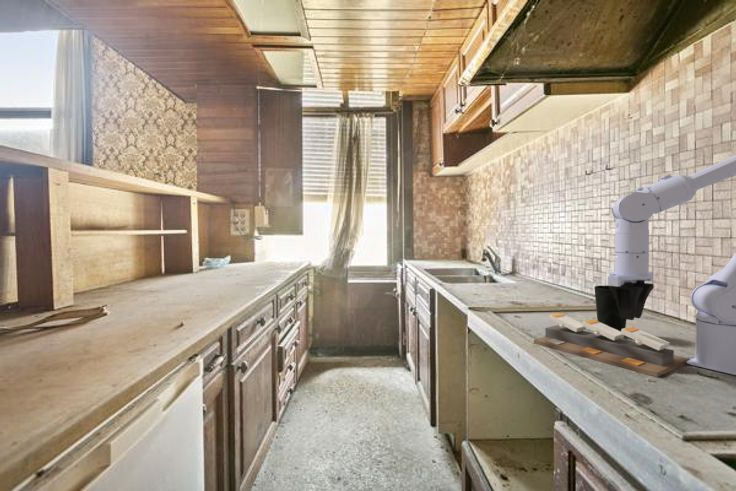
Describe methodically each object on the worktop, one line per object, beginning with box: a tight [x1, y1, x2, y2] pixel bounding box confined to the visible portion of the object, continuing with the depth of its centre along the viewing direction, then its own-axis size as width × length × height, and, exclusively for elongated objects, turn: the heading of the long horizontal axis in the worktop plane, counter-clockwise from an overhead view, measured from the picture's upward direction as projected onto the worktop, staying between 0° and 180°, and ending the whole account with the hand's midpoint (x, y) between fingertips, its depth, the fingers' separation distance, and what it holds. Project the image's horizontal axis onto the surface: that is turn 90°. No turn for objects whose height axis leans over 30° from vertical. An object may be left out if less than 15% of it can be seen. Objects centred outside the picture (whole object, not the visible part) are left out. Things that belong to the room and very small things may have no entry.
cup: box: [593, 285, 628, 337], centre depth 96 cm, size 8×8×12 cm
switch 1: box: [548, 312, 587, 332], centre depth 90 cm, size 7×4×2 cm, turn 31°
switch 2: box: [581, 318, 625, 340], centre depth 83 cm, size 7×4×2 cm, turn 31°
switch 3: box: [621, 326, 671, 351], centre depth 76 cm, size 7×4×2 cm, turn 31°
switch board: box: [533, 324, 690, 378], centre depth 82 cm, size 25×14×3 cm, turn 31°
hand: (630, 318), depth 78 cm, fingers closed
